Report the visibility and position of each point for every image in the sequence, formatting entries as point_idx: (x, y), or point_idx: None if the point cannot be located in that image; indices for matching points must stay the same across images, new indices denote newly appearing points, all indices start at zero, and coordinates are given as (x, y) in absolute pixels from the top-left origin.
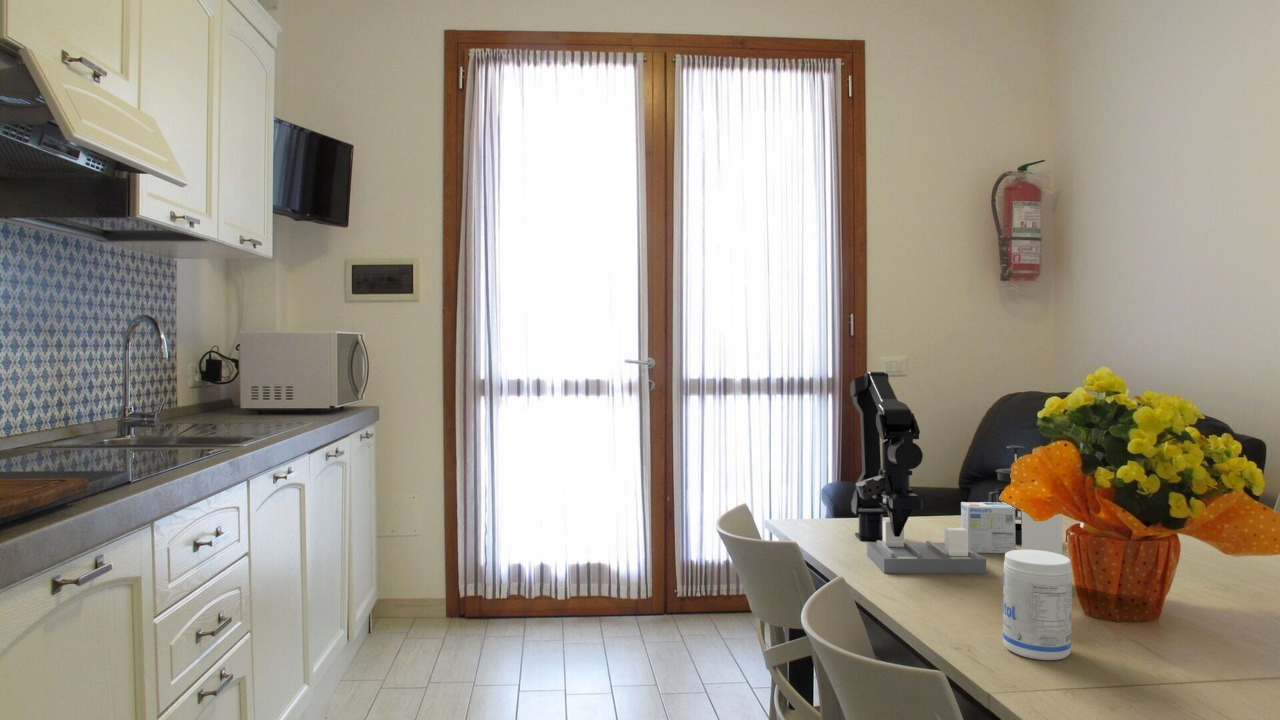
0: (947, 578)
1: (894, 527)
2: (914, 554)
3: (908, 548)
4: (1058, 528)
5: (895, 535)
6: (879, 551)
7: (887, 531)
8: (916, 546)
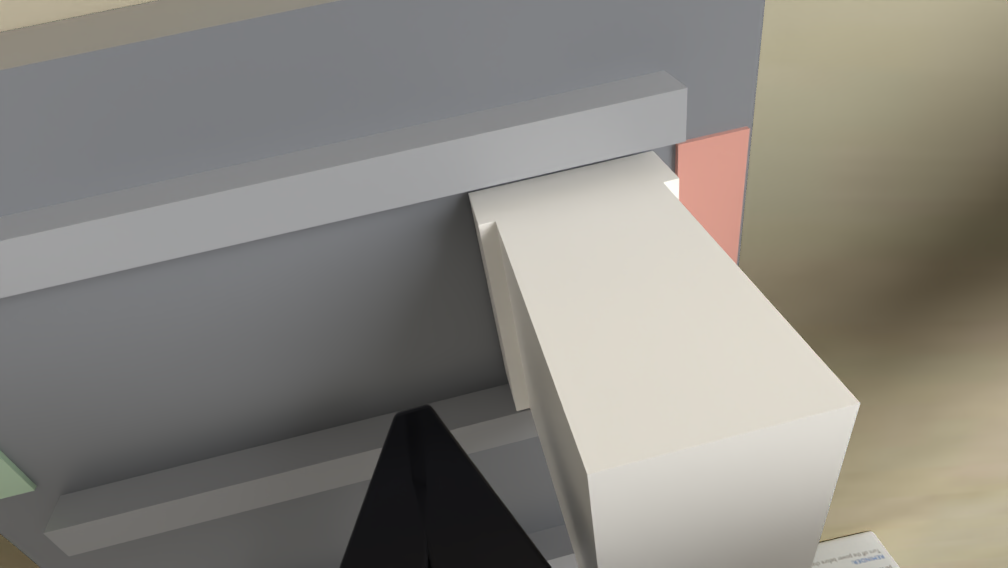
0: (5, 543)
1: (350, 557)
2: (182, 463)
3: None
4: None
5: (396, 430)
6: (139, 96)
7: (537, 350)
8: None
